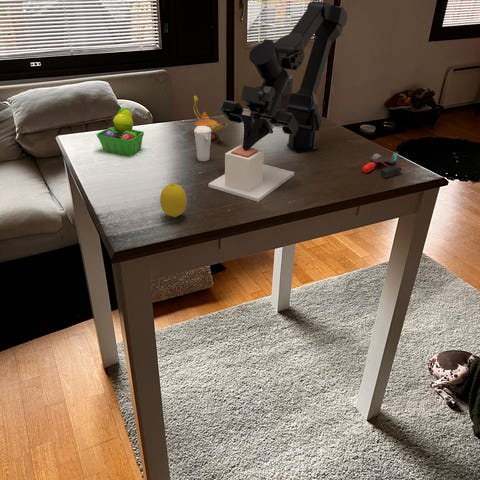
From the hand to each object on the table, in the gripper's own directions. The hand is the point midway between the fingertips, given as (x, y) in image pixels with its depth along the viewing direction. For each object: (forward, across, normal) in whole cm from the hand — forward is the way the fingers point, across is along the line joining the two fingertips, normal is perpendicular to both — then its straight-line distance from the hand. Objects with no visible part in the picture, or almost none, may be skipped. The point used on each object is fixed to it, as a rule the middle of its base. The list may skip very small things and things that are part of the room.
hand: (244, 149), depth 111 cm
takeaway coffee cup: (+1, -18, +13) cm, 22 cm away
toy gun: (-13, +23, +28) cm, 38 cm away
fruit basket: (+6, -41, +8) cm, 42 cm away
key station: (+4, 0, +10) cm, 10 cm away
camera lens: (-27, -17, +40) cm, 51 cm away
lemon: (+22, -4, -8) cm, 24 cm away
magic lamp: (-9, -26, +23) cm, 36 cm away
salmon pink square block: (+2, 0, +2) cm, 3 cm away
